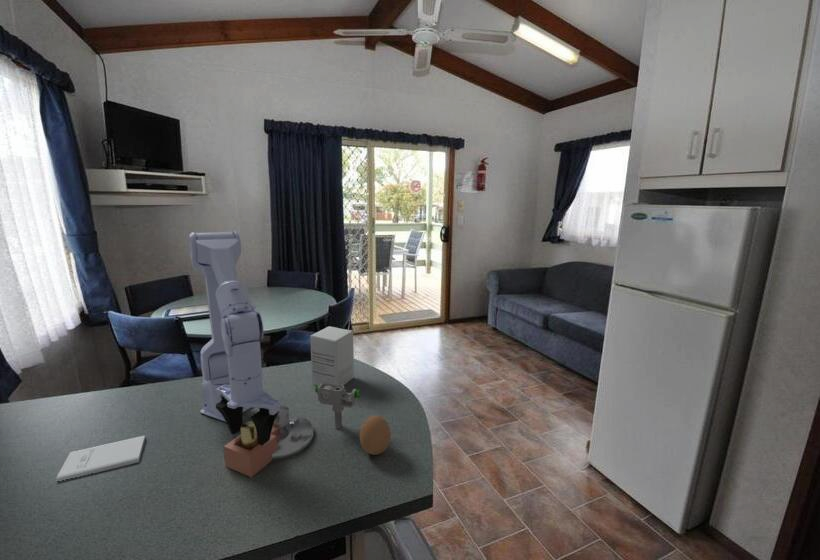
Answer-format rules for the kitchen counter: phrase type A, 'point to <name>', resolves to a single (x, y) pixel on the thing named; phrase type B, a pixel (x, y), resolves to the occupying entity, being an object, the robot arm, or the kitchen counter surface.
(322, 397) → the mechanical component
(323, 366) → the supplement box
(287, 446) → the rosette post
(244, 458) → the bracket
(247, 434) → the gold capsule
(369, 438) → the egg
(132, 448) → the external hard drive
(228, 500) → the kitchen counter surface
